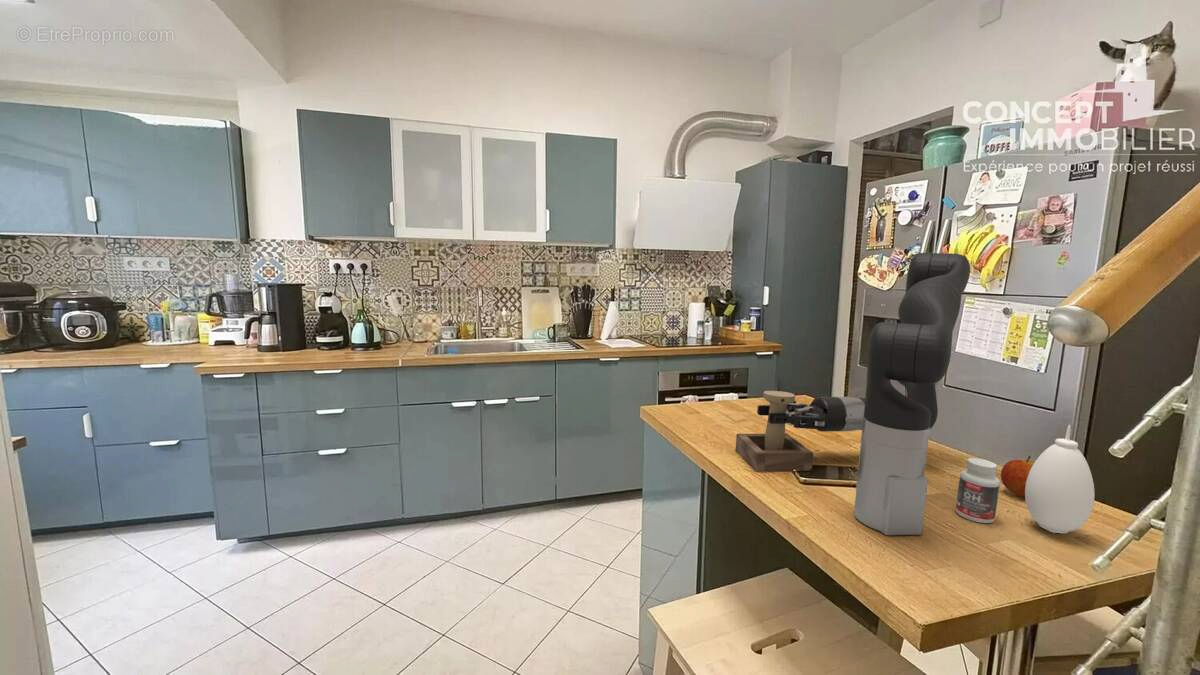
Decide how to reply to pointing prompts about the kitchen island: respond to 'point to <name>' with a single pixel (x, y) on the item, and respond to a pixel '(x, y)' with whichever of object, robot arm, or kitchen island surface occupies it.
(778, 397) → the handle
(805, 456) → the socket
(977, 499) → the pill bottle
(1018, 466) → the fruit
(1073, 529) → the white air blower bulb
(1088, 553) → the kitchen island surface
